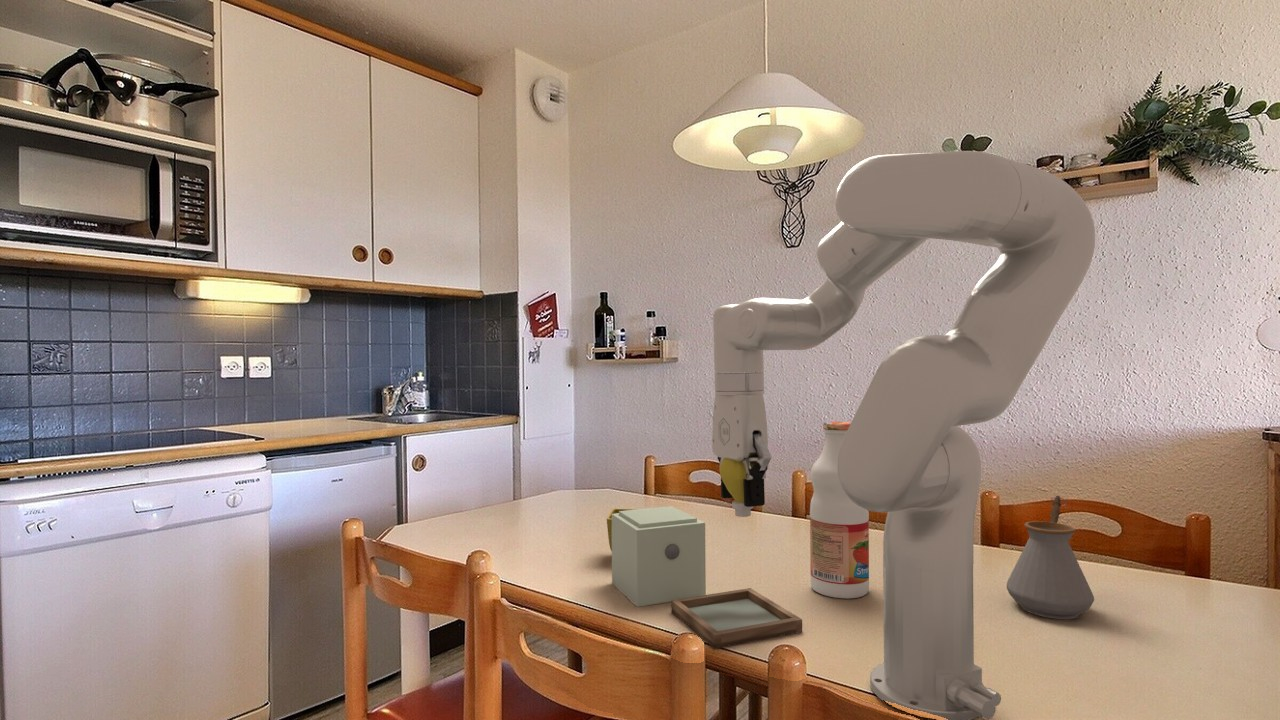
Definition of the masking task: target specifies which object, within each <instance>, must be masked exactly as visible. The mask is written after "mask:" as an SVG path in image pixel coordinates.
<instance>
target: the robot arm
mask: <svg viewBox="0 0 1280 720" xmlns="http://www.w3.org/2000/svg"><path fill="white" fill-rule="evenodd" d="M834 200H835V201H834V202H835V210H836V214H837V216H838V218H839V220H840V222H839V224H837V225H836V226H835V227H833V229H832V230H831V231H829V233H827V234H826V235H824V236H823V238H822V239H820V241H819V243H818V246H817V247H816V257H817V261H818V263H819V266H820V269H821V270H822V272H823V273H824V275H825V277H827V278H826V279H825V281H823V282H822V284H820V286H818V287H817V288H816V289H814V291H813V292H811V293H810V294H809V295H808V296H806V297H805V298H803V299H796V298H794V299H793V298H778V297H777V298H775V297H757V298H751V299H749V300H746V301H742V302H741V303H735V304H734V303H733V304H727V305H721V306H718V307H717V308H716V309H715V310H714V311H713V315H712V316H713V317H712V319H713V321H712V324H713V325H712V326H713V327H712V328H713V331H712V332H713V358H714V359H713V361H714V362H713V363H714V369H713V370H714V395H715V396H714V403H713V413H712V434H711V435H712V436H711V437H712V439H711V440H712V442H711V443H712V444H711V445H712V453H713V454H714V455H715V456H716V457H717V460H718V463H719V467H718V469H719V471H720V465H721V462H722V461H723V459H724V458H726V459H729V460H733V461H742V463H743V467H744V471H745V475H746V479H743V484H744V505H745V506H746V507H753V508H754V507H760V506H764V505H765V504H766V501H765V499H766V498H765V496H766V493H765V479H766V478H767V473H766V472H767V470H768V468H769V464H770V463H771V460H772V454H771V452H770V451H769V448H768V447H769V446H768V445H769V437H768V434H769V433H768V420H767V412H766V404H765V398H764V395H765V377H764V376H765V373H764V369H765V367H764V351H806V350H810V349H812V348H815V347H817V346H819V345H821V344H823V343H824V342H825V341H827V340H829V339H830V338H831V337H832V336H833V335H835V334H837V333H838V332H839V331H840V330H842V329H843V328H844V327H845V326H846V325H847V324H849V323H850V321H852V319H853V318H854V317H855V315H856V314H857V312H858V310H859V308H860V307H861V305H862V303H863V300H864V298H865V292H866V290H867V288H868V287H870V286H871V285H872V284H873V283H875V282H876V281H877V280H879V279H880V278H881V277H882V276H883V275H884V274H886V273H887V272H888V271H889V270H891V269H892V268H893V267H895V266H896V265H897V264H898V263H900V262H901V261H902V260H903V259H904V258H906V257H907V256H909V255H910V254H911V253H912V252H913V251H915V250H916V249H917V248H919V247H920V246H921V245H922V244H924V243H925V242H927V240H929V239H935V240H945V241H952V242H960V243H967V244H973V245H980V246H983V247H984V246H985V247H990V248H991V247H992V248H997V249H998V250H999V253H1000V254H999V256H998V259H997V260H996V261H995V263H994V265H992V266H991V268H989V269H988V270H987V272H986V273H984V275H983V276H982V277H981V278H980V279H979V280H978V282H977V283H976V284H975V286H974V287H972V288H973V289H972V290H971V291H970V293H969V295H968V297H967V299H966V302H965V304H964V305H963V308H962V310H961V311H960V313H959V315H958V316H957V318H956V320H955V321H954V323H953V325H952V326H951V328H950V329H949V330H948V332H947V333H945V334H927V335H921V336H916V337H912V338H909V339H907V340H906V341H904V342H901V343H900V344H899V345H897V346H895V348H893V350H891V351H890V352H889V354H887V355H886V357H884V358H883V360H882V362H881V363H880V365H879V366H878V368H877V370H876V372H875V373H874V375H873V378H872V379H871V382H870V383H869V384H868V388H867V389H866V392H865V394H864V396H863V397H862V400H861V402H860V404H859V406H858V408H857V410H856V412H855V414H854V415H853V418H852V420H851V424H850V426H849V428H848V430H847V432H846V434H845V437H844V439H843V441H842V444H841V447H840V451H839V455H838V464H837V469H838V476H839V481H840V484H841V486H842V488H843V490H844V492H845V494H846V495H847V496H848V497H849V499H850V500H851V501H852V502H854V503H855V504H856V505H858V506H860V507H862V508H864V509H866V510H868V512H869V511H870V512H874V513H887V515H886V518H885V523H884V524H885V525H884V527H883V528H884V530H883V542H882V543H883V548H882V549H883V550H882V551H883V556H882V558H883V559H882V562H883V564H882V565H883V566H882V567H883V569H882V570H883V572H882V573H883V574H882V576H883V577H882V579H883V581H882V582H883V587H882V588H883V662H881V663H879V664H877V665H876V666H875V667H873V668H872V670H871V671H870V673H869V674H870V675H869V684H870V688H871V691H872V692H873V693H874V694H875V695H876V696H877V698H878V699H880V700H881V701H883V700H884V701H888V702H891V703H896V704H898V705H901V706H904V707H907V708H910V709H913V710H918V711H923V712H927V713H930V714H933V715H938V716H942V717H944V718H946V719H948V720H974V719H976V718H979V717H982V719H985V720H990V719H991V718H992V717H994V715H995V713H996V707H998V706H999V705H1000V704H1001V701H1002V696H1001V693H999V692H997V691H995V690H993V689H991V688H990V687H986V686H985V685H984V683H983V668H982V667H981V666H979V665H976V664H975V659H974V658H975V656H974V655H975V651H974V650H975V647H974V646H975V645H974V643H975V642H974V641H975V639H974V638H975V637H974V635H975V634H974V629H975V628H974V627H975V625H974V623H975V622H974V619H975V618H974V542H975V541H974V537H975V536H974V534H975V521H976V517H975V516H976V509H977V503H978V497H979V491H980V485H981V481H982V480H981V478H982V461H981V460H982V459H981V455H980V452H979V451H980V450H979V449H978V447H977V445H976V443H975V441H974V440H973V438H972V437H971V436H970V434H969V433H968V432H967V431H966V430H964V429H963V428H962V427H961V426H967V425H975V424H976V425H977V424H981V423H985V422H989V421H991V420H993V419H996V418H997V417H1000V416H1001V415H1002V414H1003V413H1004V412H1005V411H1006V410H1007V408H1009V406H1010V405H1011V404H1012V401H1013V400H1014V398H1015V397H1016V394H1018V391H1019V389H1020V387H1021V386H1022V384H1023V383H1024V380H1025V379H1026V377H1027V376H1028V374H1029V372H1030V370H1032V367H1033V366H1034V364H1035V362H1036V361H1037V358H1038V357H1039V355H1040V354H1041V353H1042V351H1043V349H1044V347H1045V345H1046V344H1047V342H1048V340H1049V337H1050V336H1051V333H1052V332H1053V331H1054V328H1055V327H1056V325H1057V323H1058V321H1059V320H1060V318H1061V317H1062V315H1063V314H1064V312H1065V310H1066V309H1067V307H1068V306H1069V304H1070V303H1071V301H1072V300H1073V297H1075V294H1076V293H1077V292H1078V290H1079V288H1080V287H1081V284H1082V283H1083V281H1084V278H1085V277H1086V275H1087V273H1088V270H1089V269H1090V265H1091V263H1092V260H1093V257H1094V253H1095V249H1096V248H1095V247H1096V229H1095V228H1096V227H1095V222H1094V218H1093V216H1092V213H1091V211H1090V209H1089V207H1088V205H1087V204H1086V202H1085V201H1084V199H1083V198H1082V196H1081V195H1080V194H1079V193H1078V192H1077V190H1076V189H1074V188H1073V187H1072V186H1071V185H1070V184H1068V183H1067V182H1066V181H1065V180H1063V179H1062V178H1060V177H1059V176H1057V175H1055V174H1053V173H1052V172H1049V171H1046V170H1044V169H1041V168H1039V167H1035V166H1034V165H1033V166H1032V165H1029V164H1026V163H1024V162H1018V161H1015V160H1012V159H1009V158H1006V157H1004V156H1000V155H998V154H993V153H989V152H984V151H983V152H982V151H974V150H972V151H971V150H961V151H960V150H958V151H939V152H937V151H936V152H920V153H919V152H917V153H898V154H896V153H895V154H882V155H874V156H871V157H868V158H865V159H864V160H862V161H860V162H858V163H857V164H855V165H854V166H853V167H852V168H850V170H848V171H847V173H846V174H845V175H844V177H842V179H841V181H840V183H839V185H838V187H837V189H836V194H835V199H834ZM749 455H755V457H753V458H748V456H749ZM752 463H754V465H753V467H752V469H751V466H750V464H752ZM720 492H721V493H720V495H721V498H723V499H734V498H733V497H732V495H731V494H730V492H729V491H728V490H727V488H726V486H725V484H724V482H723V480H722V478H721V477H720ZM884 701H883V702H884Z"/></svg>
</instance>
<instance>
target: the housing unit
mask: <svg viewBox="0 0 1280 720" xmlns="http://www.w3.org/2000/svg"><path fill="white" fill-rule="evenodd" d="M635 509H636V510H626V511H619V513H616V514H612V552H611V583H612V585H614V586H615V588H617V590H619V591H620V592H621V593H622V594H623V595H624V596H625V597H626V596H627V597H626V598H627V599H628V600H629V601H631V602H632V603H633V604H634V605H635V606H636V607H637V608H640V607H644V606H650V605H651V606H652V605H659V604H664V603H669V602H670V603H671V600H676V599H683V598H689V597H696V596H702V595H707V593H706V589H707V588H706V587H707V586H706V585H707V583H706V580H707V579H706V576H707V574H706V572H707V571H706V569H707V568H706V522H705V521H702V520H700V519H698V518H697V517H695V516H693V515H692V514H689V513H687V512H685V511H683V510H681V509H679V508H676V507H674V506H672V505H670V506H659V507H647V508H635Z"/></svg>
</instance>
